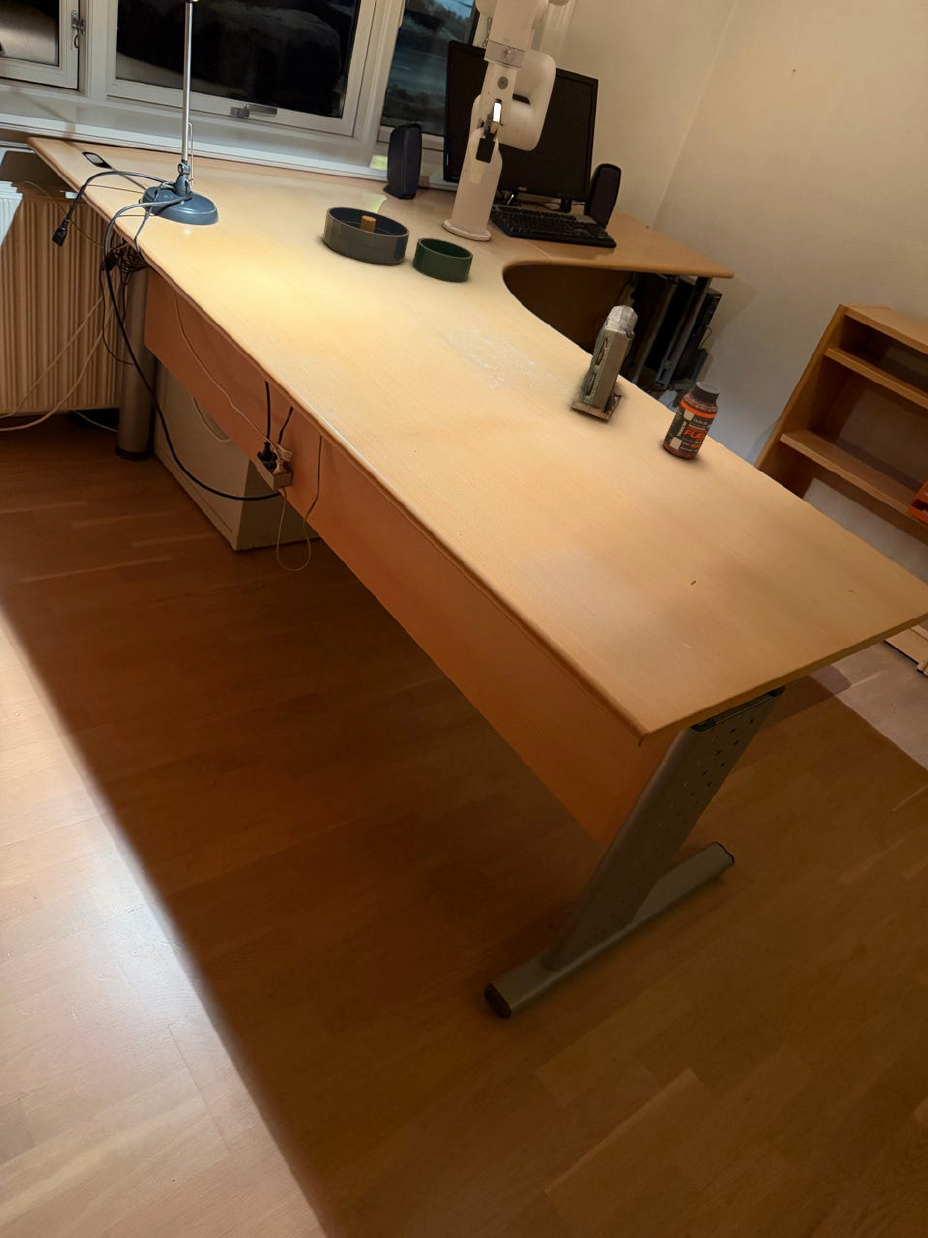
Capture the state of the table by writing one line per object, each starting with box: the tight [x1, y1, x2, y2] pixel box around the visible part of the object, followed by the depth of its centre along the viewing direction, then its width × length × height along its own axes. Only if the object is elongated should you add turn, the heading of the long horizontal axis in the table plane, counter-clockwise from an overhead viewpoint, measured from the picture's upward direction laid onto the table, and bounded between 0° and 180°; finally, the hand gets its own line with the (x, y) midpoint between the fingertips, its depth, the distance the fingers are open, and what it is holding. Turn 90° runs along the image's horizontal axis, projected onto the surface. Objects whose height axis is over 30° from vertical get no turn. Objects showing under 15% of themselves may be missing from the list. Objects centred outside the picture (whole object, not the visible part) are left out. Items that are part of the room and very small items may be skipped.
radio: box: [571, 304, 639, 421], centre depth 144 cm, size 23×9×15 cm, turn 158°
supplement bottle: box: [662, 381, 721, 459], centre depth 134 cm, size 6×6×11 cm
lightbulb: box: [468, 127, 499, 186], centre depth 172 cm, size 6×6×11 cm
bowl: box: [322, 206, 411, 265], centre depth 180 cm, size 18×18×6 cm
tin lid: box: [360, 216, 376, 233], centre depth 179 cm, size 13×13×6 cm
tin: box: [412, 237, 474, 283], centre depth 182 cm, size 12×13×5 cm
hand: (480, 156), depth 172 cm, fingers closed on lightbulb, 6 cm apart
